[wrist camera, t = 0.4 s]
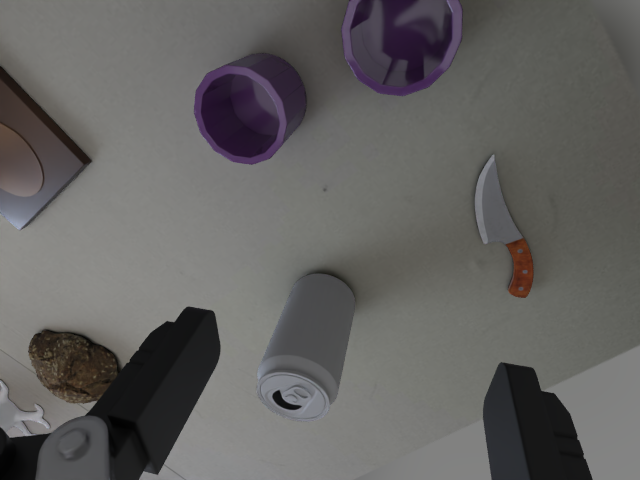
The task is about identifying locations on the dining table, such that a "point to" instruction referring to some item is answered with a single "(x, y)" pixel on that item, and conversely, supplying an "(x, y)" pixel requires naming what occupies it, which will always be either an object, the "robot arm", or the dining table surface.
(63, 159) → the serving board
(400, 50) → the ramekin
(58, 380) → the bread roll
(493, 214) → the knife
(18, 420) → the tree stump
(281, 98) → the ramekin
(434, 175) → the dining table surface
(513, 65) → the dining table surface
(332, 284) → the beverage can
